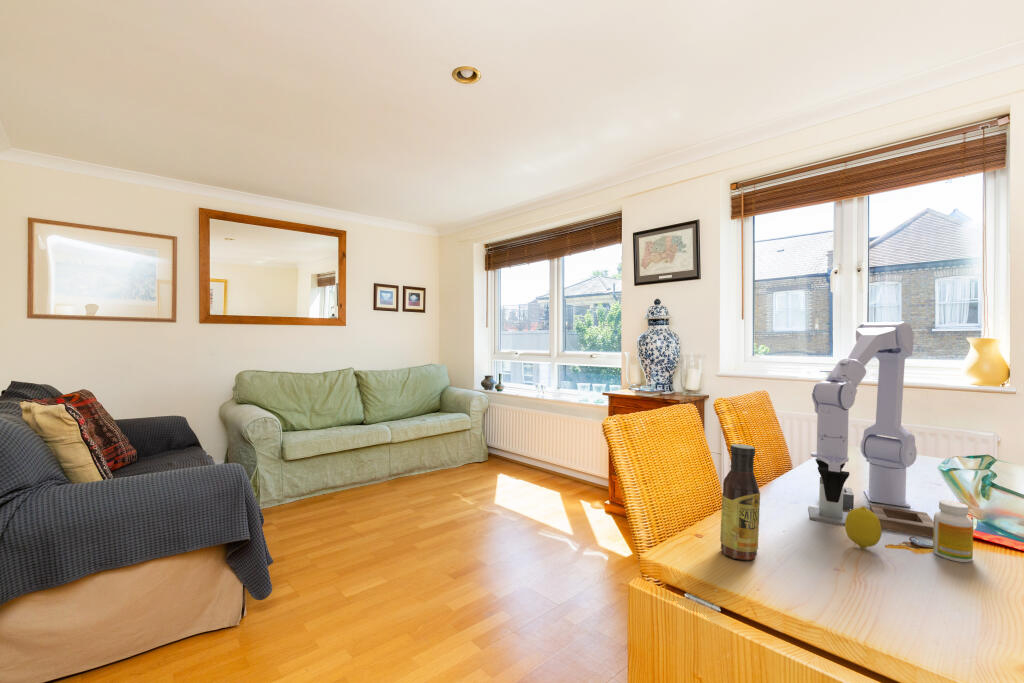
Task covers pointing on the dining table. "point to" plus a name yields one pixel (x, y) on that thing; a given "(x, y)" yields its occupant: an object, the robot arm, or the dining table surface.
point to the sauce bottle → (740, 506)
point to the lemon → (863, 527)
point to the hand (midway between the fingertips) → (830, 496)
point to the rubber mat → (816, 516)
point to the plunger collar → (848, 499)
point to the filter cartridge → (829, 504)
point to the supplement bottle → (953, 532)
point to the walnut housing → (904, 520)
